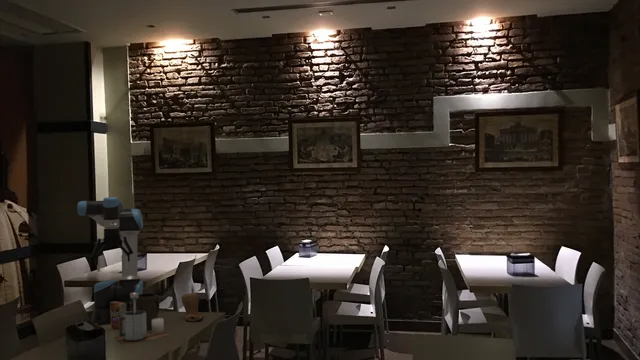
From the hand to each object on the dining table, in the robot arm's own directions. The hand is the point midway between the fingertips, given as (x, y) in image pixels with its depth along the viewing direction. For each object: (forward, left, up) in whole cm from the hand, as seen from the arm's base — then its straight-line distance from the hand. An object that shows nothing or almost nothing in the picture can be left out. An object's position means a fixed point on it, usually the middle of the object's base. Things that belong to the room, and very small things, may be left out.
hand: (112, 269), depth 282 cm
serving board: (+7, +13, -36) cm, 39 cm away
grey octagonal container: (+8, +9, -35) cm, 36 cm away
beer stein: (-10, +21, -36) cm, 43 cm away
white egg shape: (+4, +21, -35) cm, 41 cm away
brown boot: (-19, +48, -36) cm, 63 cm away
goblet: (+8, +9, -32) cm, 34 cm away
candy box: (-19, +7, -36) cm, 41 cm away
